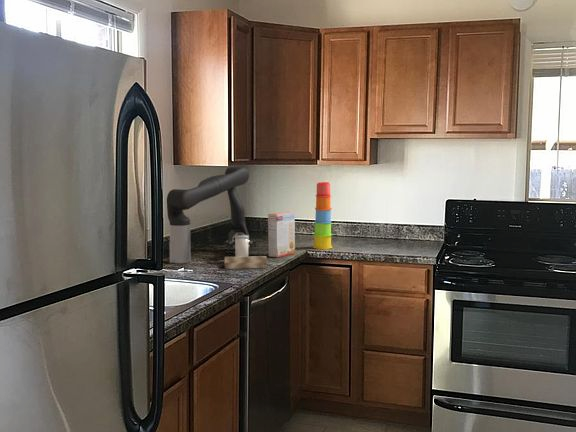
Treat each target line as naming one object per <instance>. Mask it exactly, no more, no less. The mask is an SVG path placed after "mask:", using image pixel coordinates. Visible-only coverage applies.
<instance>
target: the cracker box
mask: <svg viewBox="0 0 576 432" xmlns="http://www.w3.org/2000/svg"><path fill="white" fill-rule="evenodd" d="M295 218H296V216H295V212H294V211H292V212H291V211H283V212H274V213H268V214H267V234H268V239H267V240H268V241H267V242H268V257H269V258H281V257H286V256H291V255H295V254H296V243H295V242H296V239H295V238H296V235H295V234H296V227H295V225H296V224H295V223H296V222H295V221H296V220H295Z"/></svg>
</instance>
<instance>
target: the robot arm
mask: <svg viewBox="0 0 576 432" xmlns="http://www.w3.org/2000/svg"><path fill="white" fill-rule="evenodd" d="M249 178H250V173H249V170H248V169H247V168H246V167H244V166H229V167H227V168H226V169H225V172H224V174H218V175H213V176H210V177H207V178H204V179H203V180H201V181H200V182H199V183H198V185H197V186H196V187H193V188H189V189H181V188H180V189H179V188H175V189H174V188H173V189H171V190H169V191H168V193H167V196H166V212H167V219H168V221H169V222H168V223H169V245H168V246H169V263H170V264H188V263H191V262H192V261H191V260H192V259H191V258H192V256H191V219H190V217H188V216H187V215H185V214H184V211H185V210H189V209H191V208H193V207H195V206H196V205H198V204H200V203H201V202H204V201H206V200H209V199H211V198H213V197H215V196H218V195H220V194H222V193H225V192H226V191H227V195H228V196H227V197H228V201H229V206H230V222H231V225H232V226H235V227H240V229H232V230H230V231H229V232H228V239H226V241H225V248H231V249H235V236H236V235H248V236H249V238H248V248H250V249H252V248H256V247H257V240H255V239H252V240H250V234H249V231H248V228H247V224H246V217H245V216H246V214H245V206H244V204H243V203H242V202H243V201H242V200H241V198H240V196H239V193H238V191H237V187H239V186H243V185H245V184H246V183H247V182H248V181H249V180H250V179H249Z"/></svg>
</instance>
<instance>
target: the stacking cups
mask: <svg viewBox="0 0 576 432" xmlns="http://www.w3.org/2000/svg"><path fill="white" fill-rule="evenodd" d="M331 197H332V195H331V184H330V182H329V181H328V182H325V181H323V182H321V181H320V182H317V184H316V194H315V207H314V209H315V220H314V233H313V235H314V241H313V246H312V248H313V249H316V250H317V249H318V250H330V248H331V249H333V246H332V236H333V233H332V222H333V221H332V218H331V216H332V213H331V212H332V207H331Z"/></svg>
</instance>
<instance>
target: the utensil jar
mask: <svg viewBox="0 0 576 432" xmlns="http://www.w3.org/2000/svg"><path fill="white" fill-rule="evenodd" d="M248 238H249V239H250V235H249V236H248V235H236V236H235V248H234V249H235V253H234V255H235V256H234V257H249V247H248Z"/></svg>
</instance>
